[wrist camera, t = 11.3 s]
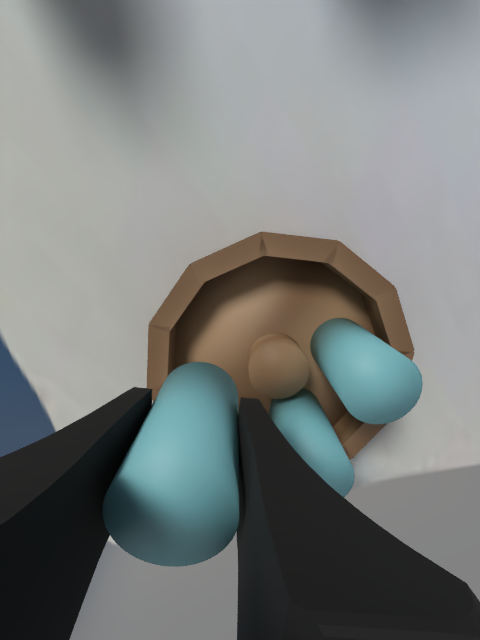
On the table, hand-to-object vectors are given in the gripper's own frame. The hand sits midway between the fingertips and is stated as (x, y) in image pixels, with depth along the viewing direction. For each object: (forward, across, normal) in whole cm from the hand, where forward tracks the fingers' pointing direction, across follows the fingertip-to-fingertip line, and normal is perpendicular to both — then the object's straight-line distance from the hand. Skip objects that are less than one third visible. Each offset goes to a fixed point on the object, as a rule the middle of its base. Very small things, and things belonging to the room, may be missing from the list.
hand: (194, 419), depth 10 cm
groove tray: (+7, -4, 0) cm, 8 cm away
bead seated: (+6, -7, -1) cm, 9 cm away
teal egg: (+1, 0, 0) cm, 1 cm away
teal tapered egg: (+6, -5, +3) cm, 9 cm away
